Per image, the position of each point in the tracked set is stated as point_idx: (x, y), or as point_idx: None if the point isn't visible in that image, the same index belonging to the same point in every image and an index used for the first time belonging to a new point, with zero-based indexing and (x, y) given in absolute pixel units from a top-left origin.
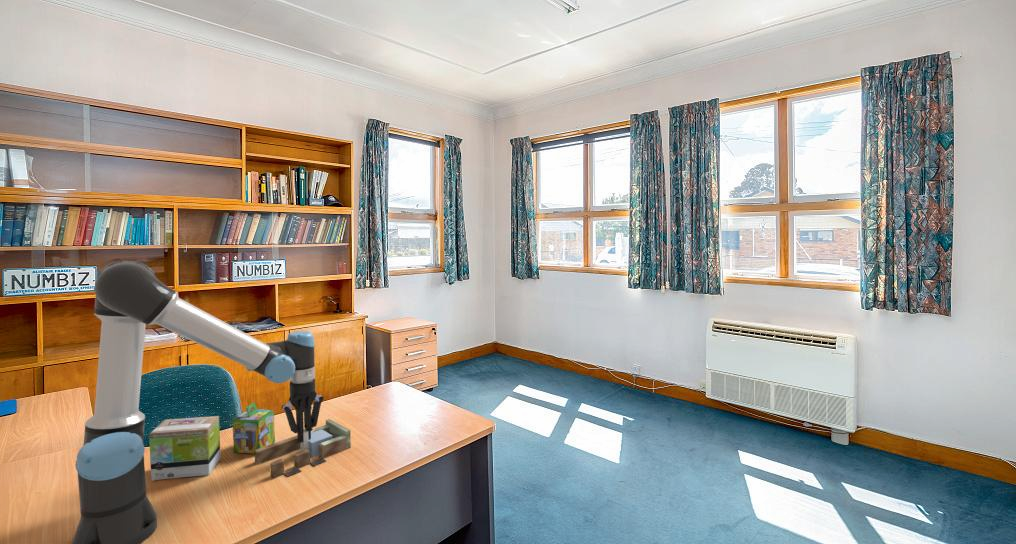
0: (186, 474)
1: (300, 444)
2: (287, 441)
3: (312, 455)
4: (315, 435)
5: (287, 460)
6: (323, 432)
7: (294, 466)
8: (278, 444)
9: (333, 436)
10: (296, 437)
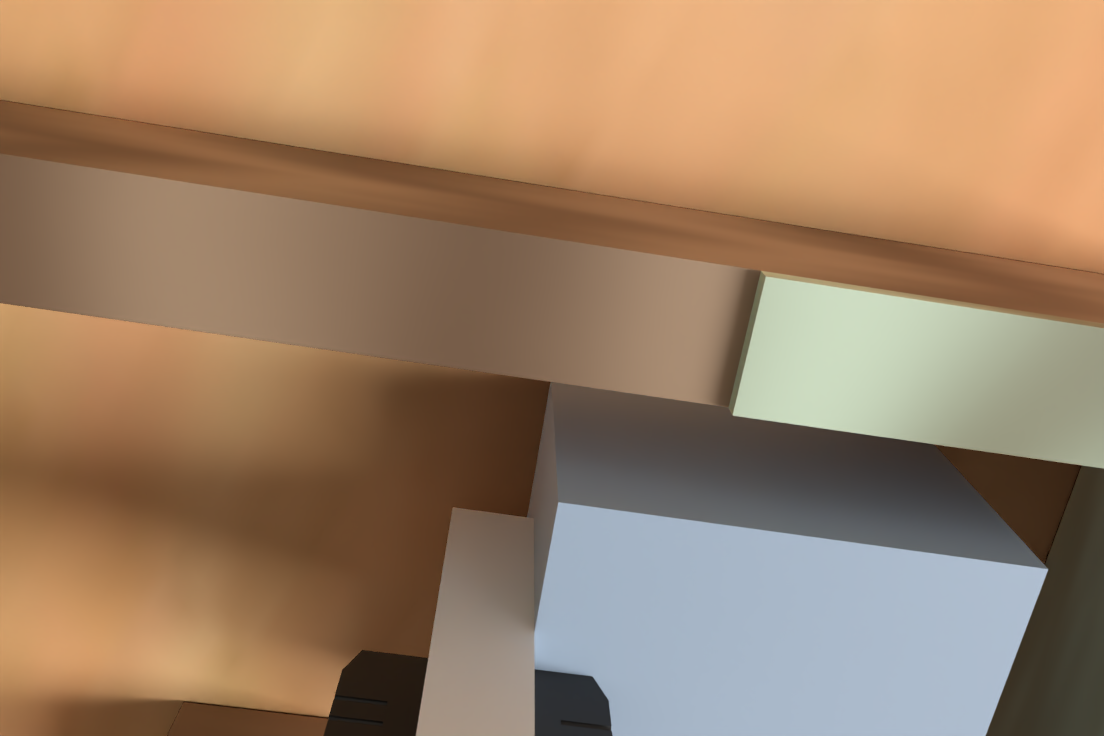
0: None
1: (443, 564)
2: (288, 338)
3: None
4: (747, 704)
5: (208, 474)
6: (935, 717)
7: (184, 704)
8: (76, 302)
9: (1100, 583)
10: (531, 327)
